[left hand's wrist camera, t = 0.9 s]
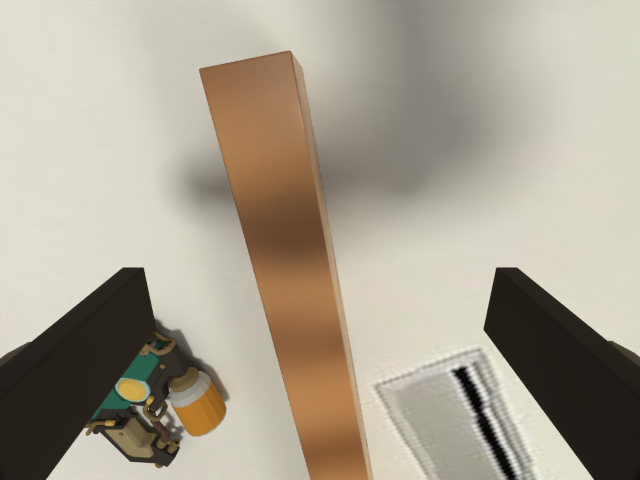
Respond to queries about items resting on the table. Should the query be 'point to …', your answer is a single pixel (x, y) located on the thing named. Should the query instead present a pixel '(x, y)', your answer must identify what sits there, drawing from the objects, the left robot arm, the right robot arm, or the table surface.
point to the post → (291, 252)
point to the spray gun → (157, 404)
